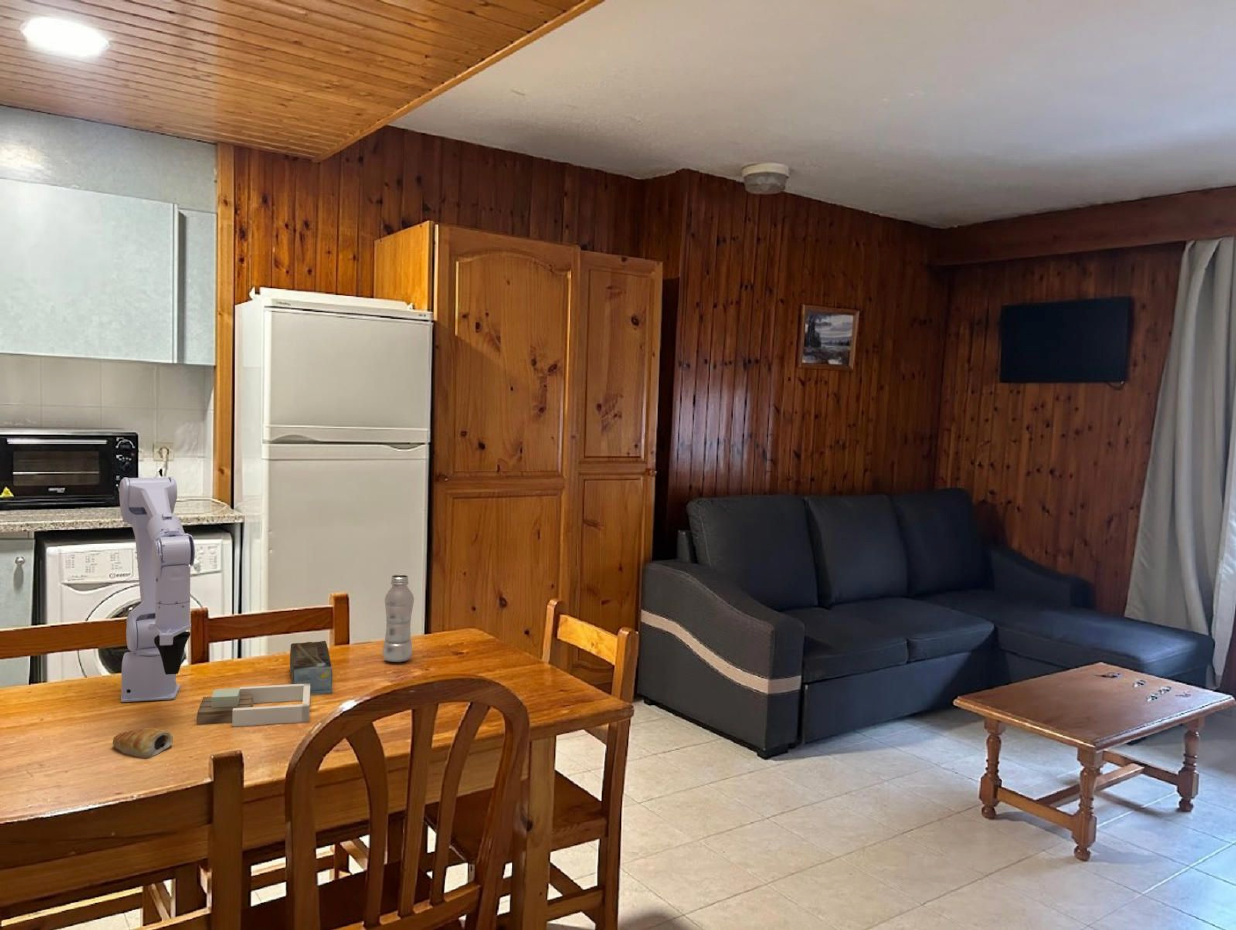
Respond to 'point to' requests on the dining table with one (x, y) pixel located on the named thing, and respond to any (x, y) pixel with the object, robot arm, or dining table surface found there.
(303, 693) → the dock
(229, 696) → the pale green block
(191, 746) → the dining table surface
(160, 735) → the pastry
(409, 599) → the plastic bottle
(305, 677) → the beverage carton
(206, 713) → the pallet
